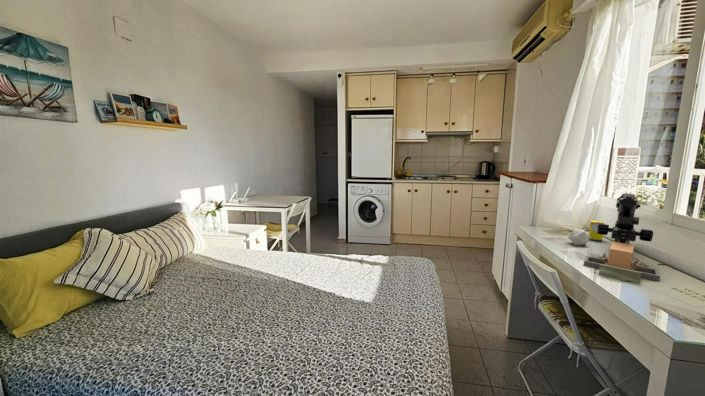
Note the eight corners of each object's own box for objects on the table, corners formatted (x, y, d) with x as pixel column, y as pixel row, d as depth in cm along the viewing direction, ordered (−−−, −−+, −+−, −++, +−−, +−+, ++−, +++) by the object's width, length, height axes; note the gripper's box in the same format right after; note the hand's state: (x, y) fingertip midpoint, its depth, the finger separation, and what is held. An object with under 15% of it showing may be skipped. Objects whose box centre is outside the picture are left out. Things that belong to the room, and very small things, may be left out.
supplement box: (601, 239, 166) (604, 221, 164) (602, 241, 161) (604, 223, 159) (588, 237, 169) (590, 219, 168) (588, 239, 164) (591, 221, 163)
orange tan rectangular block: (610, 260, 133) (613, 241, 132) (631, 264, 128) (634, 245, 127) (606, 268, 123) (609, 248, 122) (629, 273, 118) (632, 252, 117)
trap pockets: (585, 259, 133) (586, 255, 133) (657, 274, 117) (658, 269, 117) (583, 265, 126) (584, 260, 126) (659, 281, 111) (659, 276, 110)
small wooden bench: (602, 257, 137) (603, 249, 136) (637, 263, 128) (639, 255, 128) (598, 273, 117) (600, 264, 117) (639, 282, 109) (641, 272, 108)
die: (589, 249, 150) (596, 233, 152) (574, 240, 151) (581, 224, 153) (577, 249, 158) (583, 234, 160) (562, 241, 159) (569, 226, 161)
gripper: (600, 207, 138) (595, 233, 132) (656, 212, 125) (654, 242, 119) (599, 220, 145) (595, 246, 139) (652, 227, 132) (650, 255, 126)
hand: (621, 247), depth 130 cm, fingers closed
